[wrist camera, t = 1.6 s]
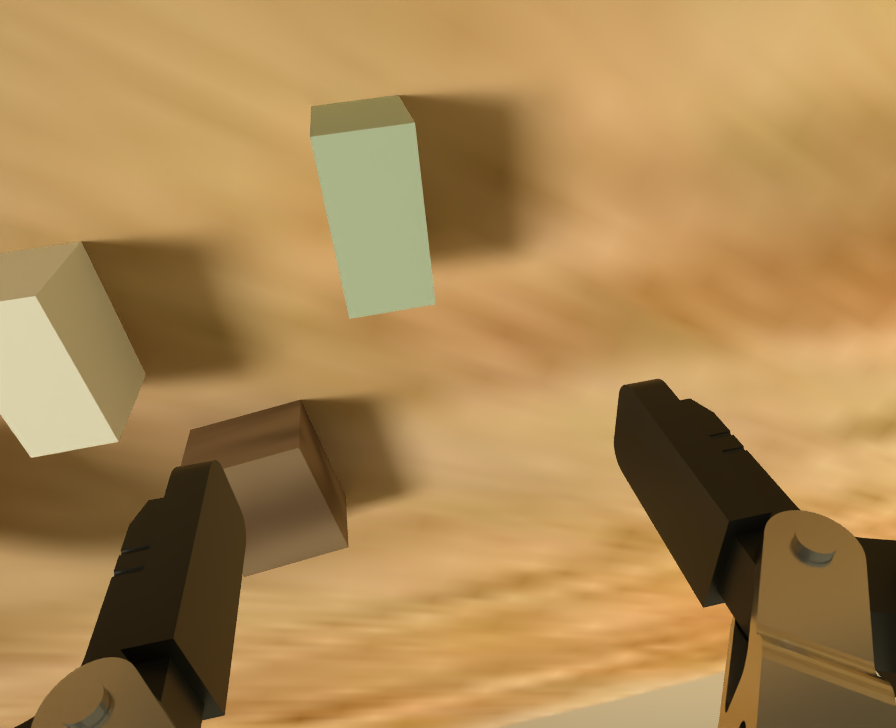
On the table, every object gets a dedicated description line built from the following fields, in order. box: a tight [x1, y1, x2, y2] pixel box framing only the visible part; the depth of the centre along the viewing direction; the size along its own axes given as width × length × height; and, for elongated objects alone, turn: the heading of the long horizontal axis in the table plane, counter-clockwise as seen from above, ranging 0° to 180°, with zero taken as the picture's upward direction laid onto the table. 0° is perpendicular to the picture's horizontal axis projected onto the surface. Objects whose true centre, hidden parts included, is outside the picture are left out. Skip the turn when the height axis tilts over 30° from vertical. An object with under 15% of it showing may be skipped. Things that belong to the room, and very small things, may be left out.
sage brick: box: [310, 95, 435, 319], centre depth 23 cm, size 7×4×5 cm, turn 5°
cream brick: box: [0, 241, 146, 458], centre depth 24 cm, size 7×4×5 cm, turn 5°
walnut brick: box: [181, 400, 348, 577], centre depth 32 cm, size 8×6×4 cm
